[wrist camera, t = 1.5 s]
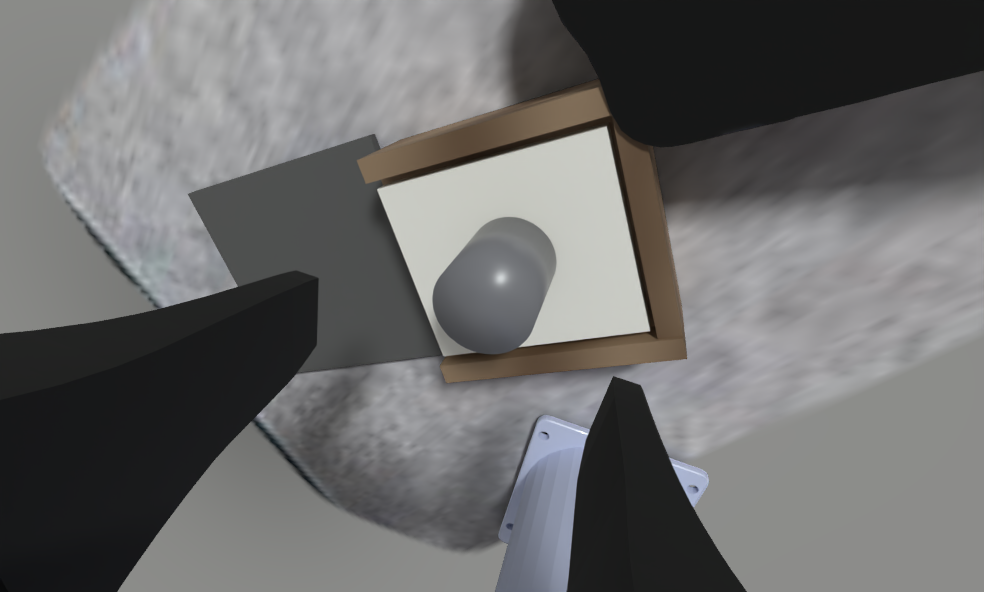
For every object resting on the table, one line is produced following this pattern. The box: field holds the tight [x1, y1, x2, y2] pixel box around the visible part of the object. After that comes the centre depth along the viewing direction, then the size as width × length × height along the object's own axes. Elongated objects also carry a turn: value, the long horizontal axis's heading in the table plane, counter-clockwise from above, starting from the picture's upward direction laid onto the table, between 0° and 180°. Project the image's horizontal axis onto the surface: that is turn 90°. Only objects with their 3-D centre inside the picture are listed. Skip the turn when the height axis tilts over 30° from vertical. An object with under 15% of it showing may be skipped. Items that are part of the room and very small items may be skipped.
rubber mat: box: [188, 134, 443, 373], centre depth 24 cm, size 10×10×1 cm
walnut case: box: [357, 79, 687, 383], centre depth 18 cm, size 9×9×4 cm
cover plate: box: [377, 122, 650, 356], centre depth 16 cm, size 8×7×4 cm
